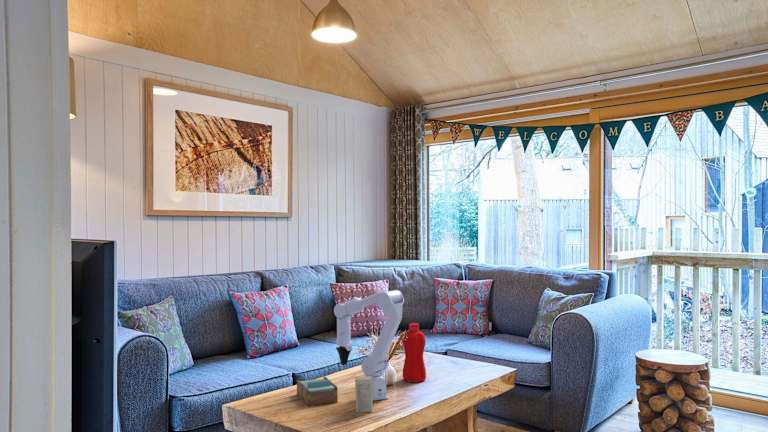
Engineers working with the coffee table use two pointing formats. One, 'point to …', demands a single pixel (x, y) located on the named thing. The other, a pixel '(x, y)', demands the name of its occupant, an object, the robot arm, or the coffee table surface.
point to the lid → (318, 385)
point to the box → (317, 395)
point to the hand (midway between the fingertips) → (343, 364)
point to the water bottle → (414, 354)
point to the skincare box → (363, 394)
